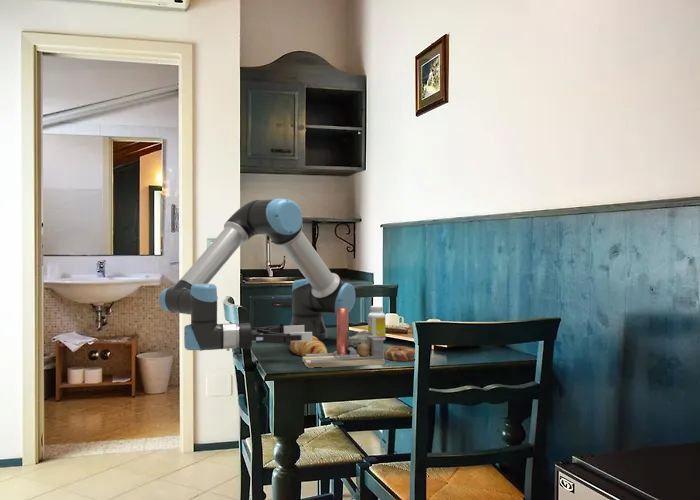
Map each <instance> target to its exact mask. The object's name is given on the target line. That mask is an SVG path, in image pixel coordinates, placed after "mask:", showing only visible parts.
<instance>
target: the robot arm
mask: <svg viewBox="0 0 700 500" xmlns="http://www.w3.org/2000/svg"><path fill="white" fill-rule="evenodd" d="M302 215H303V214H302V210H301V208H300V206H299V205H298V204H297V203H296V202H295V201H293V200H292V199H288V198H272V199H256V200H251V201H249V202H247V203H245V204H243V205H242V206H241V207H240V208H238V209H237V210H236V211H235V212H234V213H233V214H232V215H230V217H229V218H228V219H227V220H226V221H225V223H224V224H223V230H222V231H221V232H220V233H219V234H218V235H217V237H216V238H215V239H214V240H213V241H212V243H211V244H210V245H209V246H208V247H207V248H206V249H205V251H203V253H201V255H200V256H199V257H198V259H196V261H195V262H193V264H192V265H191V267H190V268H189V269H188V270H186V272H185V273H184V275H183V276H182V277H181V278H180V279H179V280H178V281H177V282H176V284H175V285H174V286H171V287H166V288H164V289H162V290H161V292H160V294H159V297H158V303H159V304H158V305H160V307H161V309H162V310H163V311H166V312H169V313H172V314H184V315H190V323H189V324H186V325H184V328H183V329H184V331H183V333H184V338H183V339H184V340H183V342H184V348H185V350H187V351H200V352H202V351H212V350H214V351H215V350H226V351H228V352H229V351H230V349H232V350H234V349H237V348H239V349H251V348H252V345H253V341H255V344H279V345H280V344H283V345H287V346H289V345H290V342H310V341H312V336H314V337H316V338H318V340H319V341H323V340H326V339H328V331H327V328H326V325H325V321H324V319H323V314H331V315H337V308H348V314H349V313H350V312H351V311H352V310H353V308H354V306H355V303H356V290H355V287H354V286H353V285H352V284H351V283H349V282H343V280H342V279H341V278H340V276H339V275H338V274H337V273H335V272H331V270H330V269H329V267H328V266H327V265H326V263H325V261H324V260H323V259H322V257H321V256H320V255H319V254H318V252H317V251H316V249H315V248H314V246H313V245H312V244H311V242H310V241H309V239H308V238H307V237H306V235H305V234H304V232H303V231H302V230H303V227H304V226H303V217H302ZM257 235H267V237H269V239H270V240H271V241H272V242H273V244H274V245H275V246H281V247H282V249H284V251H285V253H286V254H287V255H288V256H289V259H291V261H292V262H293V263H294V265H295V266H296V268H297V269H298V270H299V271H300V273H301V274H302V275H303V277H304V278H303V279H295V280H294V281H293V282H292V289H291V308H292V310H291V311H292V318H291V322H290V325H284V323H279V324H278V325H270V326H263V327H262V326H261V327H252V324H251V323H250V322H239V323H238V324H237V323H235V322H234V323H233V322H232V323H231V322H229V323H218V292H217V290H218V289H217V286H216V284H213V283H210V282H211V281H212V279H214V277H215V276H216V275H217V274H218V273H219V272H220V270H221V269H222V268H223V266H224V265H225V264H226V263H227V262H228V260H229V259H230V258H231V256H232V255H234V253H235V252H236V251H237V249H239V247H240V246H241V245H242V244H245V243H247V242H248V241H249V240H250V239H251V238H253V237H254V236H257Z"/></svg>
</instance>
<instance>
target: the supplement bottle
mask: <svg viewBox="0 0 700 500" xmlns="http://www.w3.org/2000/svg"><path fill="white" fill-rule="evenodd" d="M383 310H384V306H383V305H371V306H370V312H369V313H368V315H367V327H368V328H367V331H368V332H371V333H372V334H373V335H376V336H378V337H380V338H382V339H383V341H386V336H387V335H386V332H387V331H386V328H387V326H386V314H385V313H384V311H383Z"/></svg>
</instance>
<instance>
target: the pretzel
mask: <svg viewBox="0 0 700 500" xmlns="http://www.w3.org/2000/svg"><path fill="white" fill-rule="evenodd" d="M415 349H416V348H414V347H409V346H406V345H403V346H402V345H401V346H400V345H391V346H390V347H388V348H387V349H386V350H385V351H383V358H384V359H385V360H386V359H387V361H395V362H412V361H415V360H414V354H415Z"/></svg>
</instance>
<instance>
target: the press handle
mask: <svg viewBox="0 0 700 500" xmlns="http://www.w3.org/2000/svg"><path fill="white" fill-rule="evenodd" d="M348 341H349V313H348V308H337V314H336V350H334V351H333V353H334V356H335V357H336V358H353V357H358V355H357V354H356V352H357V349H356V348H353V347H351V346H350V347H348Z"/></svg>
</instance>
